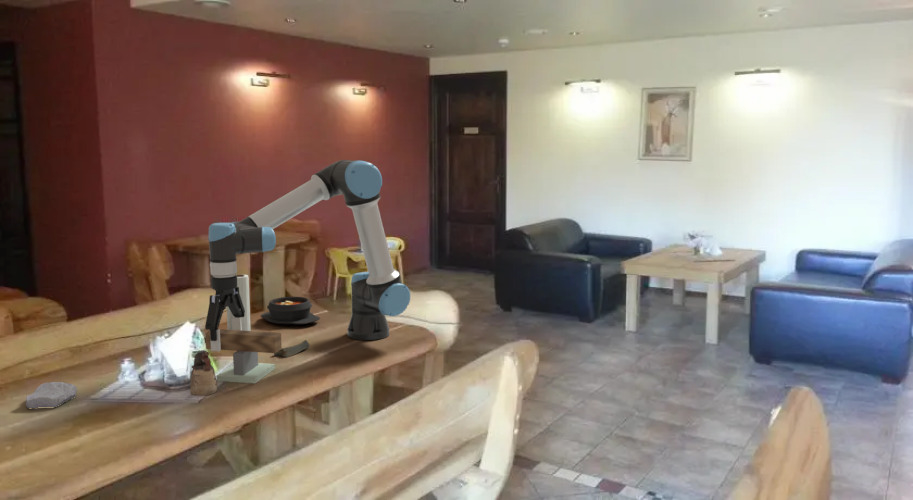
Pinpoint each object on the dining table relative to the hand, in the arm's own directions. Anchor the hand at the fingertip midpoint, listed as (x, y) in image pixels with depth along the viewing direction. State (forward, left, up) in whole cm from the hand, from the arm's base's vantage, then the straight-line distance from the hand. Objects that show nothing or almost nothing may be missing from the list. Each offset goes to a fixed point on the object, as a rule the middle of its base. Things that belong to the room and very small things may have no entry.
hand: (227, 344), depth 223 cm
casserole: (+6, -62, -9) cm, 63 cm away
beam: (-5, 0, -1) cm, 6 cm away
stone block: (+35, +31, -10) cm, 48 cm away
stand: (-6, 0, -9) cm, 11 cm away
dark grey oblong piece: (-10, -24, -10) cm, 28 cm away
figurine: (-1, +16, -9) cm, 19 cm away
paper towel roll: (+17, -43, -9) cm, 47 cm away
